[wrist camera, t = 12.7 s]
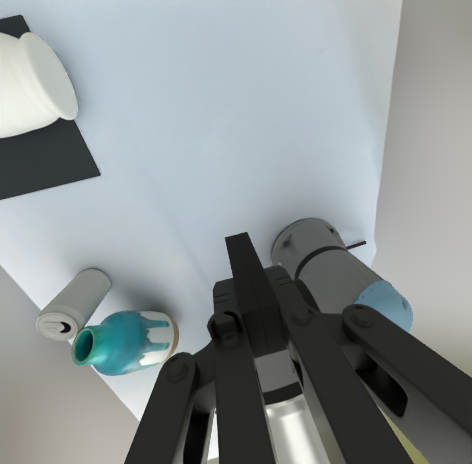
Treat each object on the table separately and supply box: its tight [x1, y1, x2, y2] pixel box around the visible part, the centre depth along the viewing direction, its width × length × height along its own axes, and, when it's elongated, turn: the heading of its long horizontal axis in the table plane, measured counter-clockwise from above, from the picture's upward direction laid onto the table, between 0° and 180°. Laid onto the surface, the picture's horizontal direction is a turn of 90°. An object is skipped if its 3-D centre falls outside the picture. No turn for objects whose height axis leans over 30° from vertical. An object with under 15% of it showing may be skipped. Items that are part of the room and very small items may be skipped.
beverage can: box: [36, 269, 111, 341], centre depth 38 cm, size 6×6×12 cm
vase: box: [72, 310, 179, 376], centre depth 40 cm, size 11×11×19 cm
